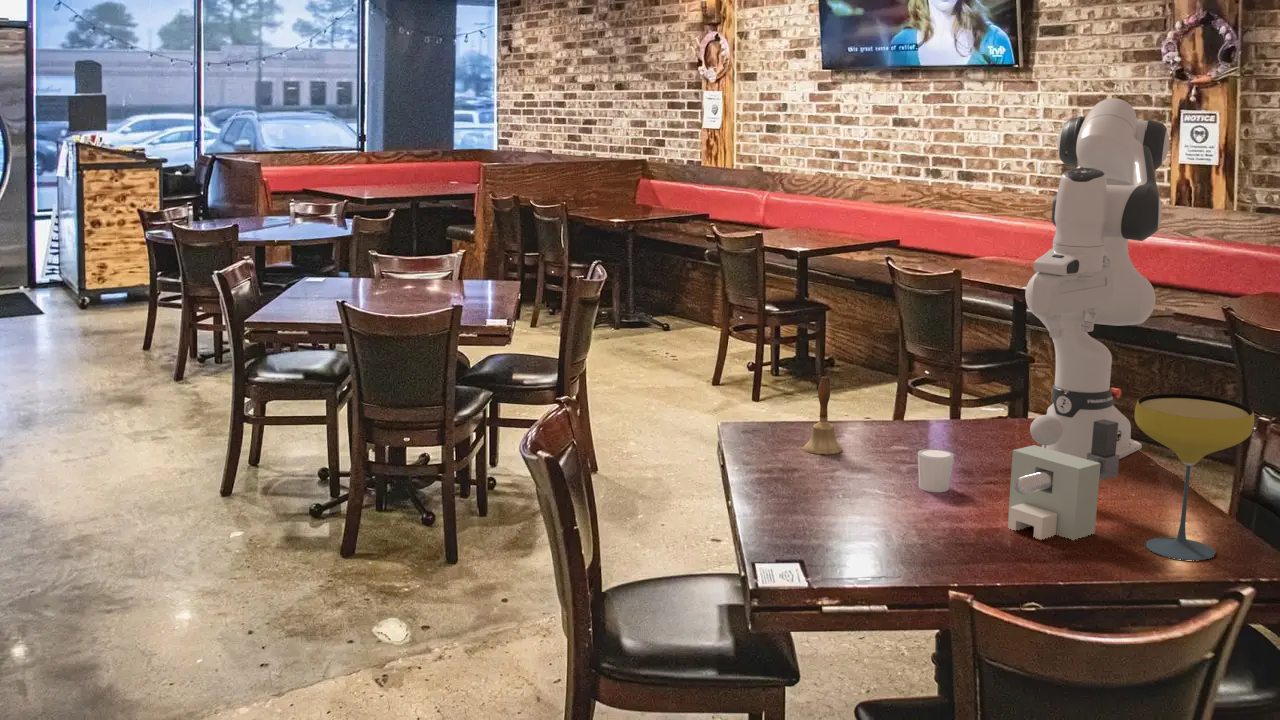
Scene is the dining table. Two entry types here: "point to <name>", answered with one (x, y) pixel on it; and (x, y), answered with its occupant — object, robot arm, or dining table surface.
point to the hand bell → (823, 426)
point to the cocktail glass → (1191, 447)
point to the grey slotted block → (1060, 488)
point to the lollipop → (1046, 430)
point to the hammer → (1100, 453)
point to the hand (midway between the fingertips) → (1071, 334)
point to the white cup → (935, 469)
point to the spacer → (1033, 520)
